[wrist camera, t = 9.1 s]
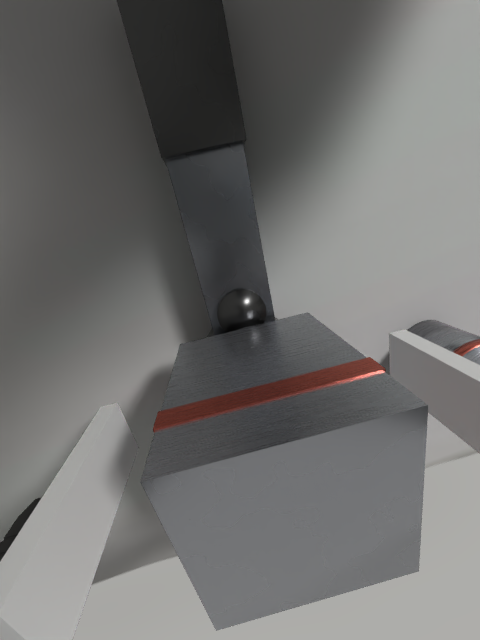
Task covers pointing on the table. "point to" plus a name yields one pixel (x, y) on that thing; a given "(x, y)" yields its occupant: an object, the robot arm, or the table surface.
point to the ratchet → (203, 149)
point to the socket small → (449, 338)
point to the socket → (286, 469)
